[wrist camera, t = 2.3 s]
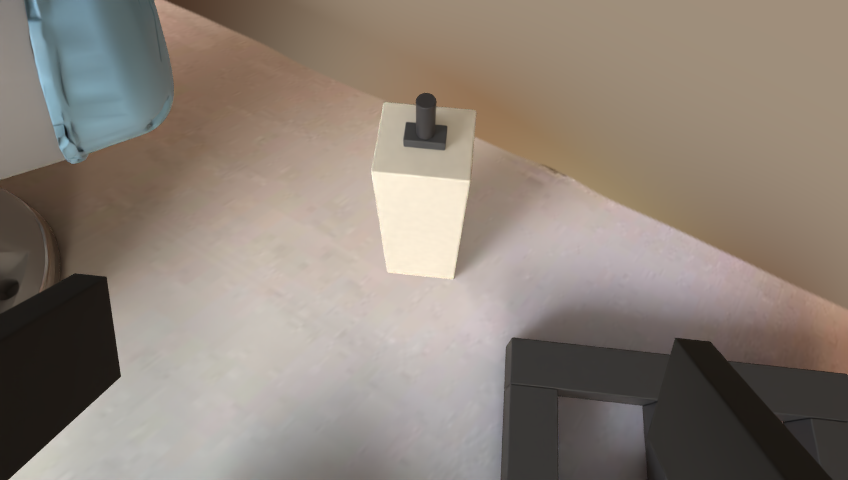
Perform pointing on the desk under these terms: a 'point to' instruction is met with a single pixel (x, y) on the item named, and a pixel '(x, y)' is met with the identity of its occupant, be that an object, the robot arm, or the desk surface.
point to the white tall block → (422, 184)
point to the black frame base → (650, 402)
